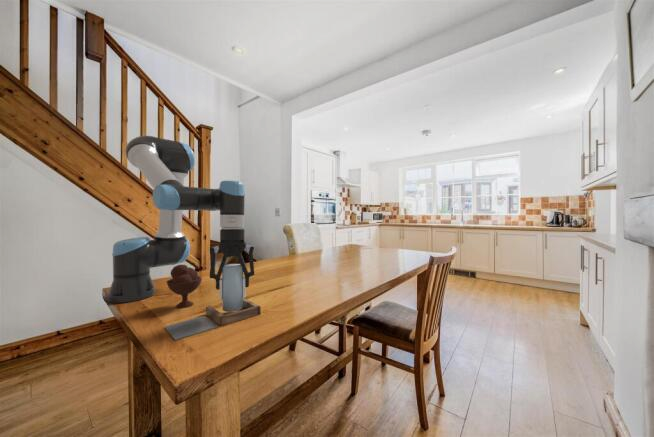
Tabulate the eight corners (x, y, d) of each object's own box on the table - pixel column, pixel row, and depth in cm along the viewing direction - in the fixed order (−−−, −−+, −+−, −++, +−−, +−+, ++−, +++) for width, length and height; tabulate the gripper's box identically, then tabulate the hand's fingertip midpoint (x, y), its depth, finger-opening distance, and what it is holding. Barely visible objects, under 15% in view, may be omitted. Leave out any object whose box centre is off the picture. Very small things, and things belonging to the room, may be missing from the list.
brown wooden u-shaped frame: (206, 313, 84) (205, 306, 84) (242, 304, 93) (242, 297, 93) (221, 326, 75) (221, 317, 75) (260, 313, 84) (260, 306, 84)
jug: (221, 312, 80) (221, 268, 80) (224, 302, 89) (224, 263, 88) (242, 310, 82) (242, 267, 81) (243, 301, 90) (243, 262, 90)
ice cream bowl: (187, 312, 85) (186, 267, 85) (159, 309, 88) (158, 266, 87) (208, 301, 96) (207, 262, 96) (182, 299, 98) (182, 261, 98)
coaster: (164, 327, 74) (164, 326, 74) (204, 316, 82) (204, 315, 82) (175, 340, 66) (175, 339, 66) (218, 327, 74) (218, 326, 74)
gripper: (197, 229, 77) (198, 304, 77) (263, 228, 82) (263, 298, 83) (202, 228, 84) (202, 297, 85) (262, 227, 90) (262, 292, 90)
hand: (232, 297), depth 84 cm, fingers closed on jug, 6 cm apart
